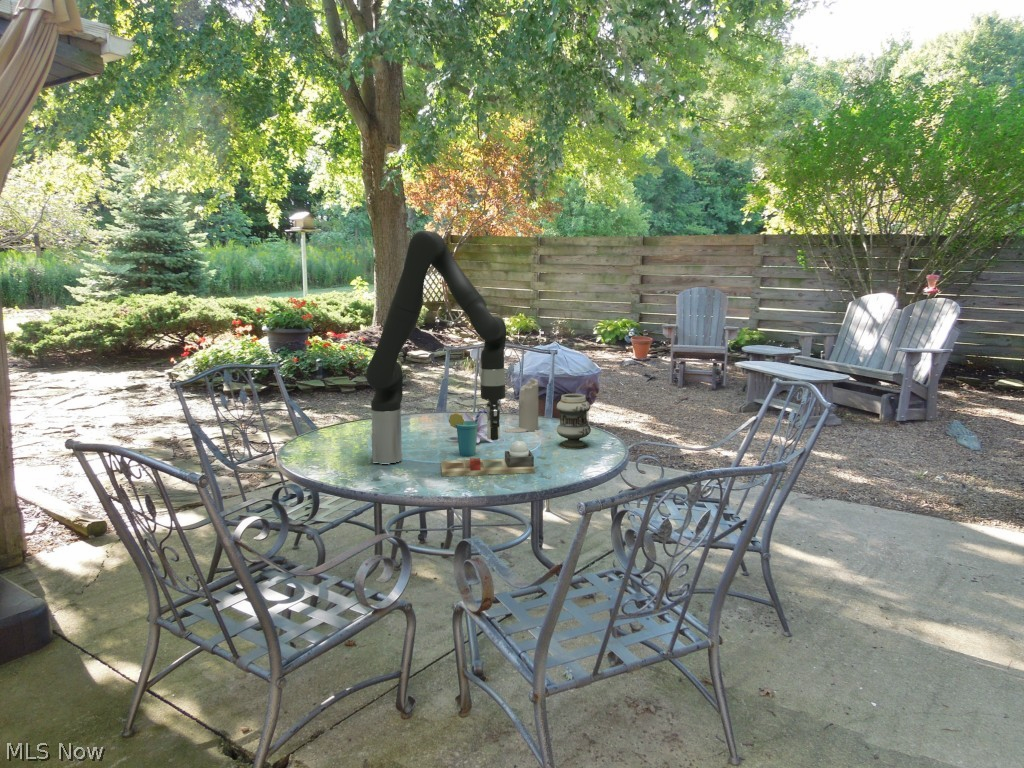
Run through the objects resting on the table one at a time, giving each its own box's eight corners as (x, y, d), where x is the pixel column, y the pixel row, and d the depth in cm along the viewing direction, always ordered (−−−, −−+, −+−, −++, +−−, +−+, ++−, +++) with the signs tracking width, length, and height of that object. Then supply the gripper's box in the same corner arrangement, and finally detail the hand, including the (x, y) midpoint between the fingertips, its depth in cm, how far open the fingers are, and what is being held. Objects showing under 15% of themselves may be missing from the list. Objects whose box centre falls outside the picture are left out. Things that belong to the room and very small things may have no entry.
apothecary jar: (561, 440, 242) (561, 391, 239) (593, 442, 238) (594, 393, 235) (552, 448, 231) (552, 397, 228) (586, 450, 227) (586, 399, 224)
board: (442, 476, 198) (441, 461, 197) (441, 465, 209) (440, 451, 209) (534, 473, 201) (534, 458, 200) (528, 462, 213) (528, 448, 212)
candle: (501, 429, 259) (500, 378, 256) (534, 427, 263) (534, 377, 260) (506, 433, 253) (506, 381, 249) (540, 431, 257) (541, 379, 253)
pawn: (487, 439, 202) (487, 414, 200) (486, 436, 206) (486, 412, 204) (500, 439, 202) (500, 414, 201) (499, 436, 206) (499, 411, 205)
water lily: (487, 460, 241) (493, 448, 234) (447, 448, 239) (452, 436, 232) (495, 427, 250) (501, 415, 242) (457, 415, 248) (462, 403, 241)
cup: (489, 450, 228) (489, 407, 225) (492, 456, 220) (491, 412, 218) (448, 452, 226) (447, 408, 223) (450, 458, 218) (449, 413, 216)
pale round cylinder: (510, 462, 203) (510, 443, 202) (508, 457, 209) (508, 439, 208) (530, 461, 204) (530, 443, 203) (527, 456, 209) (527, 438, 208)
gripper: (507, 386, 195) (508, 443, 197) (502, 379, 209) (503, 432, 211) (482, 387, 194) (483, 444, 196) (478, 379, 208) (479, 433, 210)
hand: (493, 437), depth 204 cm, fingers closed on pawn, 4 cm apart
